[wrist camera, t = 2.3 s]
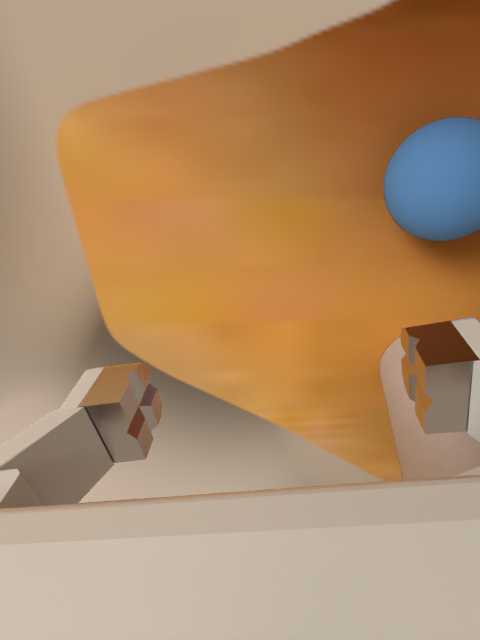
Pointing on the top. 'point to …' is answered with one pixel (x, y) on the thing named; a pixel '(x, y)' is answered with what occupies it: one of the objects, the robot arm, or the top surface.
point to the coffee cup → (411, 442)
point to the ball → (437, 180)
